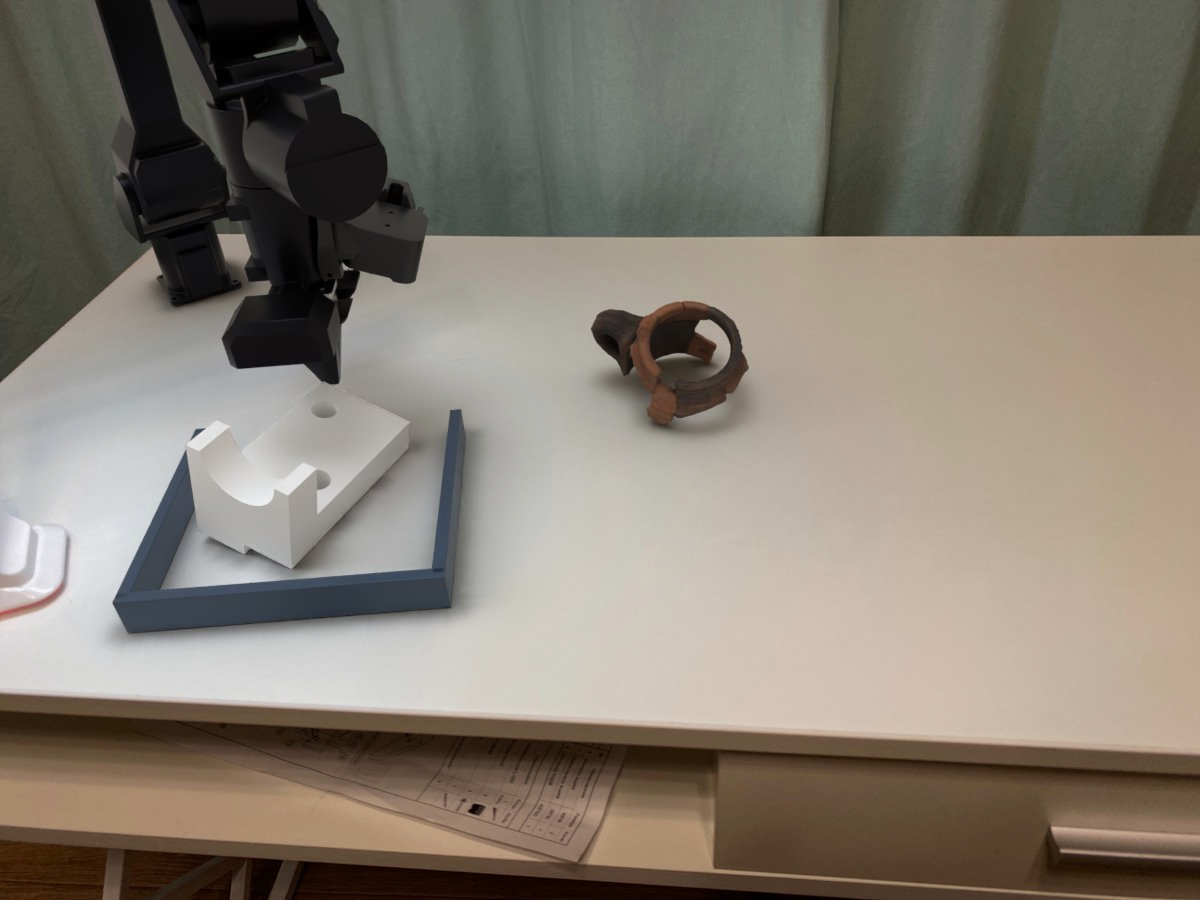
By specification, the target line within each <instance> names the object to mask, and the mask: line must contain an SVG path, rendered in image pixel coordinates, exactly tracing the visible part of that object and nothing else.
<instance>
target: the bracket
mask: <svg viewBox="0 0 1200 900" xmlns="http://www.w3.org/2000/svg"><path fill="white" fill-rule="evenodd" d="M205 428H206V429H205V430H203V431H202V432H201V433H200V434H198V435H197V436H196V437H195V438H193V439H192V440H191V439H190V440H191V441H190V440H189V441H188V442H187V443H186V444H185V450H186V452H187V458H188V465H189V472H190V478H191V485H192V492H193V499H194V505H195V507H194V512H195V518H196V525H197V531H198V532H200V533H202V534H204V535H205V536H206V535H207V536H208V537H210V538H212V539H213V540H216V541H217V542H219V543H221V544H224V545H225V546H227V547H230V548H231V549H233V550H234V551H237V552H239V553H240V554H243V555H246V554H247V553H248V552H250V550H253V551H255V552H257V553H259V554H261V555H263V556H265V557H266V558H268V559H271V560H272V561H274V562H276V563H279V564H280V565H282V566H284V567H286V568H288V569H290V570H293V569H294V568H295V567H296V565H297V564H299V562H301V560H303V559H304V558H305V556H306V555H307V554H308V553H309V552H311V550H312V549H313V548H314V547H315V546H316V545H317V544H318V543H319V542H320V541H321V540H322V539H323V538H324V536H326V535H327V534H328V533H329V532H330V531H331V530H332V529H333V527H334V526H335V525H336V524H337V523H338V522H339V521H340V520H341V519H342V518H343V517H344V516H345V515H346V514H347V513H348V512H349V511H350V510H351V509H352V508H353V506H354V505H355V504H356V503H357V502H358V501H359V500H361V498H362V497H363V496H364V495H365V494H366V493H367V491H369V490H370V489H371V488H372V487H373V486H374V485H375V484H376V483H377V482H378V481H379V479H381V478H382V477H383V475H384V474H385V473H386V472H388V470H389V469H390V468H391V467H392V466H393V465H394V464H395V463H396V462H397V461H398V460H399V459H400V458H401V457H402V456H403V455H404V453H406V451H408V450H409V442H410V430H411V421H410V420H407V419H405V418H404V417H401V416H399V415H396V414H395V413H392V412H391V411H388V410H386V409H384V408H382V407H380V406H377V405H376V404H373V403H371V402H369V401H367V400H364V399H363V398H361V397H358V396H356V395H354V394H352V393H350V392H348V391H345V390H344V389H341V388H339V387H337V386H335V385H330V384H328V383H326V382H321V383H320V384H319V385H317V386H316V387H315V388H313V390H312V391H310V392H309V393H308V394H307V395H305V397H303V398H302V399H301V400H300V401H299V402H297V403H295V405H294V406H292V407H291V408H290V409H289V410H288V411H287V412H285V413H284V414H283V415H282V416H281V417H280V418H278V419H277V420H276V421H275V422H274V423H273V424H271V425H270V426H269V427H268V428H266V430H264V431H263V432H262V433H260V435H259V436H257V437H256V438H255V439H254V440H253V441H251V442H250V443H249V444H248V445H246V446H245V447H244V448H243V449H242V450H241V449H240V448H239V447H238V445H237V444H236V441H235V439H234V437H233V435H232V431H231V426H230V425H228V424H226V423H224V422H222V421H219V420H218V419H216V420H214V421H213V422H212V423H211V424H210V425H208V426H207V427H205Z"/></svg>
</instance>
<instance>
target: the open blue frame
mask: <svg viewBox="0 0 1200 900" xmlns="http://www.w3.org/2000/svg"><path fill="white" fill-rule="evenodd" d="M206 428H207V427H204V428H203V427H202V428H195V429H194V431H193V434H192V436H191V437H190V439H189V442H190V441H191V440H192V439H193V438H195V437H196V436H197V435H198V434H200V433H201V432H202V431H203V430H205V429H206ZM466 438H467V436H466V429H465V424H464V418H463V412H462V408H455V409H454V408H453V409H450V410H449V417H448V424H447V434H446V441H445V442H446V443H445V452H444V458H443V459H444V460H443V468H442V477H441V486H440V495H439V501H438V502H439V504H438V513H437V520H436V521H437V523H436V531H435V539H434V546H433V556H432V563H431V564H432V565H431V568H420V569H409V570H407V569H406V570H395V571H383V572H369V573H358V574H357V573H356V574H343V575H332V576H330V575H329V576H320V577H306V578H296V579H295V578H294V579H281V580H279V579H278V580H271V581H270V580H267V581H256V582H255V581H254V582H243V583H229V584H228V583H227V584H218V585H217V584H216V585H205V586H192V587H191V586H190V587H180V588H179V587H178V588H166V589H160V588H161V586H162V583H163V581H164V579H165V576H166V574H167V572H168V570H169V567H170V565H171V563H172V560H173V558H174V556H175V553H176V551H177V549H178V547H179V544H180V543H181V539H182V537H183V535H184V533H185V531H186V528H187V525H188V523H189V521H190V518H191V516H192V514H193V512H194V511H195V505H194V499H193V492H192V485H191V478H190V472H189V465H188V458H187V452H186V449H185V450H184V453H183V454H182V456H181V459H180V460H179V463H178V465H177V466H176V469H175V471H174V473H173V475H172V477H171V480H170V482H169V484H168V485H167V487H166V490H165V492H164V494H163V496H162V498H161V500H160V501H159V504H158V506H157V509H156V511H155V513H154V515H153V517H152V519H151V522H150V523H149V525H148V527H147V530H146V532H145V533H144V536H143V538H142V539H141V542H140V543H139V546H138V548H137V550H136V552H135V554H134V556H133V559H132V561H131V562H130V565H129V567H128V568H127V571H126V573H125V575H124V578H123V579H122V581H121V583H120V586H119V587H118V590H117V592H116V594H115V596H114V598H113V600H112V602H111V603H112V607H113V608H114V610H115V612H116V614H117V615H118V617H119V619H120V621H121V623H122V626H123V627H124V629H125V631H126V633H128V634H129V633H141V632H142V633H143V632H154V631H156V632H157V631H167V630H168V631H169V630H180V629H182V630H183V629H193V628H205V627H207V628H208V627H218V626H230V625H242V624H255V623H268V622H281V621H294V620H306V619H318V618H331V617H344V616H345V617H346V616H357V615H368V614H380V613H382V614H383V613H395V612H406V611H407V612H408V611H419V610H433V609H444V608H445V609H446V608H451V607H452V600H453V599H452V597H453V588H454V576H455V575H454V574H455V566H456V565H455V564H456V554H457V542H458V530H459V518H460V507H461V497H462V484H463V472H464V462H465V451H466V450H465V449H466Z"/></svg>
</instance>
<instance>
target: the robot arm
mask: <svg viewBox="0 0 1200 900" xmlns="http://www.w3.org/2000/svg"><path fill="white" fill-rule="evenodd" d="M84 1H85V4H86V7H87V10H88V13H89V17H90V20H91V23H92V25H93V29H94V33H95V35H96V39H97V42H98V45H99V49H100V51H101V55H102V58H103V60H104V66H105V69H106V71H107V74H108V78H109V81H110V84H111V86H112V87H111V88H112V90H113V94H114V96H115V99H116V100H115V101H116V103H117V106H118V109H119V113H120V118H119V121H118V124H117V127H116V130H115V132H114V135H113V138H112V141H111V144H110V152H111V155H112V158H113V163H114V166H115V170H116V172H117V174H114V175H113V176H112V183H113V193H114V203H115V208H116V210H117V213H118V215H119V218H120V220H121V222H122V224H123V227H124V228H125V230H126V231H127V232H128V233H129V234H130V235H131V237H133V238H134V239H135V240H136V241H137V243H138V244H140V245H142V244H145V243H147V242H149V241H150V245H151V247H152V249H153V252H154V255H155V258H156V261H157V263H158V266H159V269H160V271H161V274H159V275H157V276H156V280H157V283H158V285H159V287H160V288H161V290H162V292H163V293H164V295H165V297H166V299H167V300H168V302H169V303H170V305H171V306H178V305H182V304H185V303H189V302H192V301H195V300H198V299H199V300H200V299H203V298H205V297H210V296H212V295H216V294H219V293H223V292H227V291H230V290H234V289H237V288H240V287H241V286H242V285H243V283H242V280H241V278H240V277H239V276H238V274H237V273H236V272H235V270H234V269H233V268H232V266H231V265H230V264H229V263H228V261H227V259H226V258H225V253H224V251H223V248H222V245H221V242H220V238H219V235H218V232H217V229H216V225H215V222H216V221H219V220H222V219H228V220H229V222H230V223H231V222H241V225H242V229H243V232H244V235H245V238H246V243H247V246H248V249H249V252H250V256H249V257H248V260H247V262H246V263H245V265H244V268H243V269H244V271H245V276H246V279H247V281H248V283H257V282H269V284H270V287H269V290H268V292H267V294H258V295H257V294H256V295H245V296H244V298H243V299H242V300H241V301H240V303H239V304H238V306H237V307H236V308H235V310H234V311H233V313H232V316H231V318H230V320H229V321H228V324H227V326H226V328H225V330H224V332H223V334H222V336H221V338H220V339H221V342H222V345H223V347H224V348H223V349H224V350H225V353H226V356H227V360H228V363H229V365H230V366H231V367H233V368H234V369H237V370H245V369H257V368H270V367H283V366H295V365H296V366H298V365H304V366H305V367H306V368H307V369H308V370H309V371H310V372H311V373H312V374H313V375H314V376H315V377H316V378H317V379H318V380H319V382H321V383H322V382H326V383H328V384H330V385H333V386H335V385H339V384H340V381H341V378H342V325H344V324H345V323H346V322H347V319H348V318H349V315H350V311H351V308H352V304H353V302H354V298H353V295H354V294H355V293H356V291H357V288H358V284H359V280H360V277H361V272H362V273H367V274H369V275H374V276H378V277H382V278H383V277H384V278H387V279H390V280H391V281H392V282H393V283H397V284H402V285H411V284H413V283H415V282H416V280H417V278H418V272H419V268H420V262H421V258H422V253H423V248H424V244H425V239H426V234H427V228H428V223H429V217H428V215H426V214H425V213H424V211H425V207H422V206H418V207H417V206H416V201H415V199H414V195H413V191H412V189H411V186H410V183H409V182H407V181H404V180H400V179H397V178H393V177H387V176H388V170H389V169H388V167H389V166H388V155H387V151H386V148H385V146H384V145H383V143H382V142H381V139H380V138H379V136H378V134H377V133H376V132H375V130H374V129H373V128H372V127H371V126H370V125H369V124H368V123H367V122H365V121H363V120H362V119H361V118H360V117H357V116H356V115H353V114H352V113H350V112H348V111H345V110H343V109H342V106H341V100H340V94H339V92H338V90H337V88H335V87H333V86H331V85H328V84H323V83H322V79H326V78H330V77H335V76H338V75H342V74H345V65H344V63H343V61H342V58H341V56H340V54H339V52H338V49H339V44H340V38H339V36H338V34H337V33H336V31H335V29H334V27H333V25H332V24H331V22H330V20H329V18H328V17H327V14H326V13H325V12H324V9H323V8H322V6H321V4H320V2H319V1H318V0H84ZM159 28H160V29H159ZM160 31H161V33H162V34H163V36H164V38H165V40H166V42H167V43H168V45H169V46H170V49H171V50H172V51H173V53H174V55H175V57H176V58H177V60H178V62H179V63H180V65H181V67H182V68H183V70H184V71H185V73H186V75H187V76H188V78H189V79H190V81H191V83H192V84H193V86H194V87H195V89H196V91H197V93H198V94H199V96H200V97H201V98H202V99H203V100H205V106H206V109H207V112H208V115H209V118H210V122H211V127H212V128H213V133H214V135H215V139H216V142H217V145H218V148H219V152H220V156H221V158H222V162H223V163H221V162H220V161H219V159H218V157H217V155H216V154H215V153H214V152H213V150H212V148H211V146H210V145H209V144H208V142H206V141H205V140H204V139H203V138H202V137H201V136H200V135H199V134H198V133H197V132H196V131H195V130H194V129H193V128H192V127H191V125H189V123H187V122H186V121H185V120H184V118H183V115H182V113H181V112H182V111H181V108H180V104H179V100H178V96H177V94H176V90H175V86H174V82H173V78H172V74H171V70H170V67H169V63H168V59H167V55H166V52H165V48H164V44H163V40H162V36H161V33H160ZM299 38H300V39H301V41H302V42H303V43H304V45H305V47H301V48H297V49H296V48H295V49H291V50H288V51H283V52H279V53H274V54H269V55H264V56H259V57H257V55H260V54H265V53H270V52H274V51H279V50H285V49H288V48H292V47H296V45H297V43H298V42H299ZM228 182H229V183H228ZM229 186H230V189H231V192H232V194H230V190H229ZM416 207H417V209H416ZM343 266H345V267H347V268H348V269H344V267H343Z"/></svg>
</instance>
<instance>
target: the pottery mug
mask: <svg viewBox="0 0 1200 900" xmlns="http://www.w3.org/2000/svg"><path fill="white" fill-rule="evenodd" d="M701 321H711V322H713V323H714V324H715V325H717V326H718V328H720V329H721V330H722V331H723V333H724V334H725V336H726V338H727V341H728V343H729V345H730V347H729V348H730V349H729V350H730V351H729V357H728V360H727V362H726V364H725V365H724V366H723V368H721V369H720V370H719V371H718V372H717V373H715V374H713V375H711V376H709V377H706V378H702V379H698V380H697V379H696V380H688V379H687V380H686V379H680V378H674V386H675V388H673V387H671V386H670V385H668V384H665V383H664V382H663V381H662V380H661V377H662V372H663V369H662V368H661V367H660V366H659V365H658V363H657V362H656V360H658V359H660V358H663V357H668V356H670V355H673V354H685V355H689V356H692V357H693V358H694V357H695V358H697V359H700V360H702V361H703V362H705V363H711V362H712V359H713V357H714V353H715V351H716V350H717V347H718V345H717V343H716V342H714V341H713V340H711V339H710V338H707V337H705V336H704V335H702V334H701V333H699V332H697V331H696V328H697V327H698V325H699V324H700V322H701ZM590 332H591V333H592V337H593V339H594V341H595V342H596V344H597V345H598V346H599V347H600V348H601V349H602V350H603V351H604V353H606V354H607V355H608V356H610V357H611V358H612V359H613V360H614V361H615V362H616V363H617V365H618V366H619V368H620V372H621V373H622V375H623V376H624V377H628V376H630V374H631V372H632V370H633V369H635V371H636V373H637V375H638V377H639V380H640V381H641V383H642V385H643V387H645V389H646V390H647V391H648V392H649V393H650V394H651V395H652V397H651V399H650V403H649V405H648V406H647V408H646V409H645V410H646V415H647V417H648V418H649V419H651V420H653V421H655V422H657V423H659V424H661V425H664V426H665V425H667V424H669V423H670V422H672V421H673V419H674V417H675V418H677V419H684V418H687V417H691V416H695V415H697V414H700V413H703V412H705V411H706V412H707V411H709V410H710V409H713V408H716V407H717V406H719V405H721V404H723V403H724V402H726V401H727V394H733V393H734V392H735V391H736V389H737V388H738V386H739V385H740V382H741V381H742V378H743V377H744V375H745V374H746V372H748V371H749V369H750V367H749V364H748V360H747V358H746V355H745V354H744V352H743V343H742V337H741V334H740V331H739V329H738V327H737V324H736V322H735V321H734V320H733V319H732V318H730V316H728V314H727V313H725V312H724V311H722V310H721V309H718V308H717V307H715V306H711V305H708V304H707V303H703V302H699V301H694V300H684V301H683V300H682V301H673V302H670V303H667V304H664V305H662V306H660V307H658V308H657V309H655V310H654V311H653V312H651V313H650V314H647V315H645V316H641V315H637V314H633V313H632V312H628V311H626V310H624V309H615V308H609V309H605V310H602V311H601V312H599V313H598V314H597V315H596V316H595V320H594V321H593V323H592V325H591V327H590Z"/></svg>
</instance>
